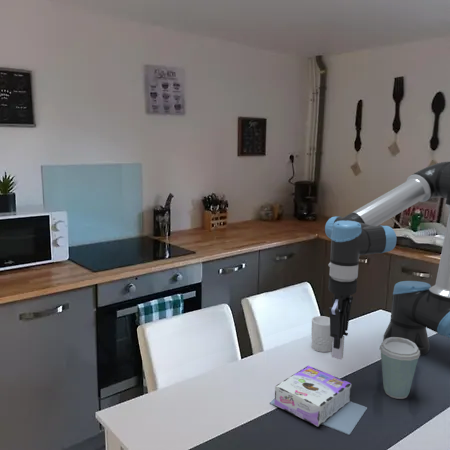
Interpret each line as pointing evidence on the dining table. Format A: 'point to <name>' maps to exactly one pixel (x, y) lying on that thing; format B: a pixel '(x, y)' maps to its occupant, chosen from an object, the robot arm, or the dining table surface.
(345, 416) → the mat
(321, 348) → the white cup
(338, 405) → the candy box
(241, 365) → the dining table surface
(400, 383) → the disposable coffee cup
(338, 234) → the robot arm
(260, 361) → the dining table surface
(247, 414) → the dining table surface
